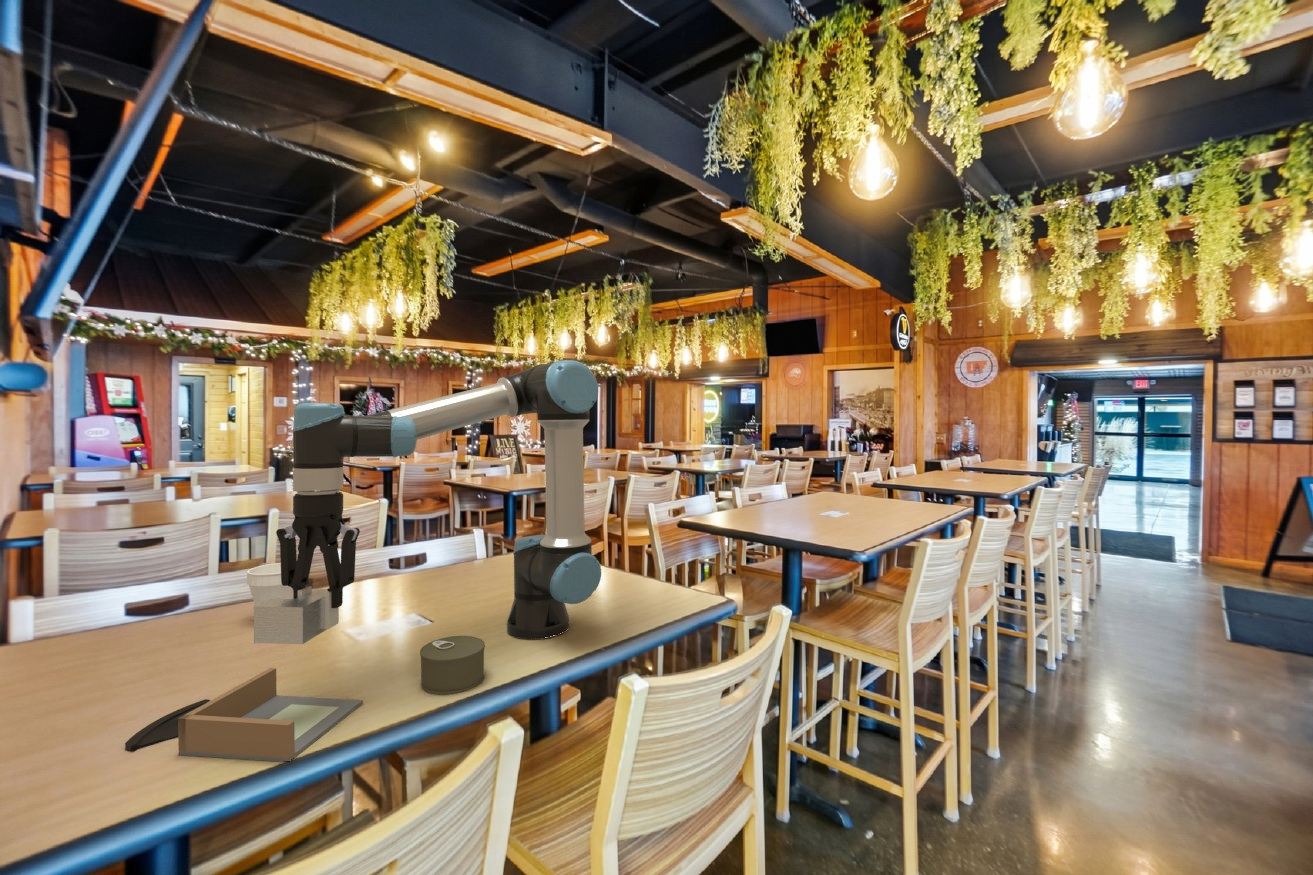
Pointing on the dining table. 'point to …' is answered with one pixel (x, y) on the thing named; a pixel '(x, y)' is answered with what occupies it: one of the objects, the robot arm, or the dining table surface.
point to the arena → (259, 722)
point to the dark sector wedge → (160, 729)
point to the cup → (267, 583)
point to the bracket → (290, 619)
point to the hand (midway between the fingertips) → (318, 625)
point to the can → (452, 665)
